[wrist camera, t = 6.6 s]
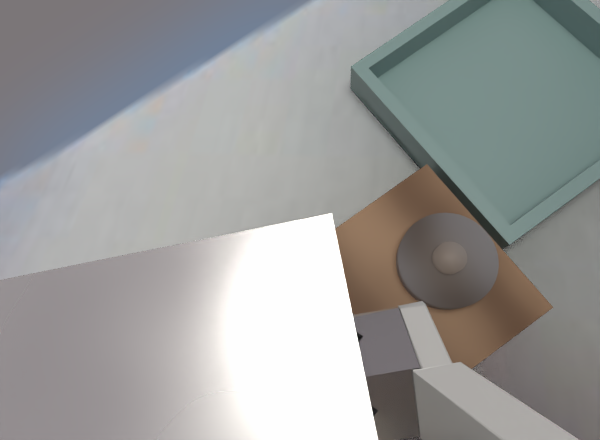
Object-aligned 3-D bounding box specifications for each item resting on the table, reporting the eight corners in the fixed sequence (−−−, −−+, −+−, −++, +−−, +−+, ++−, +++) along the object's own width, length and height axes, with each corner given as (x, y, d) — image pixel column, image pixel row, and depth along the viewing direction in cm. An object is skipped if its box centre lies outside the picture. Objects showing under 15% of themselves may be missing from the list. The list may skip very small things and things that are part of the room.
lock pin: (347, 305, 15) (332, 213, 4) (367, 406, 14) (433, 709, 3) (256, 322, 15) (-29, 285, 4) (270, 423, 14) (-54, 765, 3)
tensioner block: (418, 182, 27) (433, 151, 23) (528, 310, 25) (570, 304, 20) (213, 327, 26) (185, 325, 22) (305, 479, 23) (295, 513, 19)
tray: (512, -22, 31) (526, -52, 28) (675, 120, 27) (707, 99, 24) (350, 88, 30) (351, 66, 27) (494, 253, 26) (509, 244, 23)
